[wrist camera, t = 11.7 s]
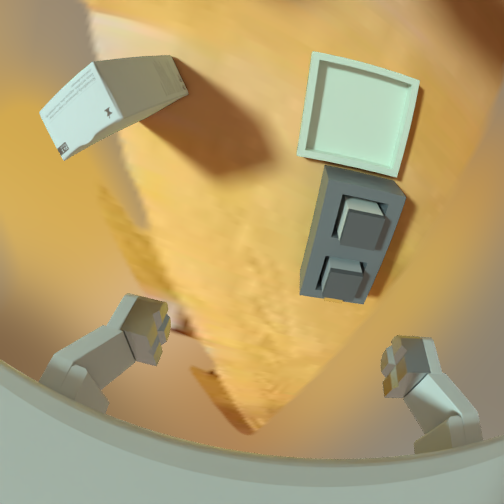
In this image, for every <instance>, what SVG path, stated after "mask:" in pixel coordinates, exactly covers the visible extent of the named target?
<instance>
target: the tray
mask: <svg viewBox="0 0 504 504" xmlns="http://www.w3.org/2000/svg"><path fill="white" fill-rule="evenodd" d="M419 82H420V81H419V80H416V79H414V78H411V77H408V76H405V75H402V74H399V73H396V72H393V71H390V70H387V69H384V68H381V67H377V66H374V65H370V64H367V63H363V62H359V61H355V60H351V59H347V58H343V57H338V56H334V55H329V54H324V53H319V52H314V51H313V52H312V55H311V62H310V69H309V76H308V83H307V90H306V97H305V103H304V110H303V116H302V123H301V129H300V135H299V141H298V147H297V156H301V157H307V158H312V159H317V160H323V161H328V162H333V163H337V164H342V165H347V166H351V167H356V168H360V169H364V170H369V171H373V172H377V173H381V174H385V175H389V176H393V177H396V178H397V175H398V172H399V168H400V165H401V161H402V157H403V154H404V150H405V146H406V142H407V138H408V134H409V130H410V126H411V121H412V117H413V112H414V108H415V103H416V98H417V93H418V88H419Z"/></svg>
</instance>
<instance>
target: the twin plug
mask: <svg viewBox="0 0 504 504" xmlns="http://www.w3.org/2000/svg"><path fill="white" fill-rule="evenodd" d="M362 279H363V274H362V270H361V266H360V262H359V261H353V260H347V259H341V258H336V257H330V256H325V260H324V263H323V266H322V269H321V283H322V297H325V298H332V299H339V300H346V301H353V300H354V298H355V295H356V293H357V291H358V288H359V286H360V284H361V281H362Z"/></svg>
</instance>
